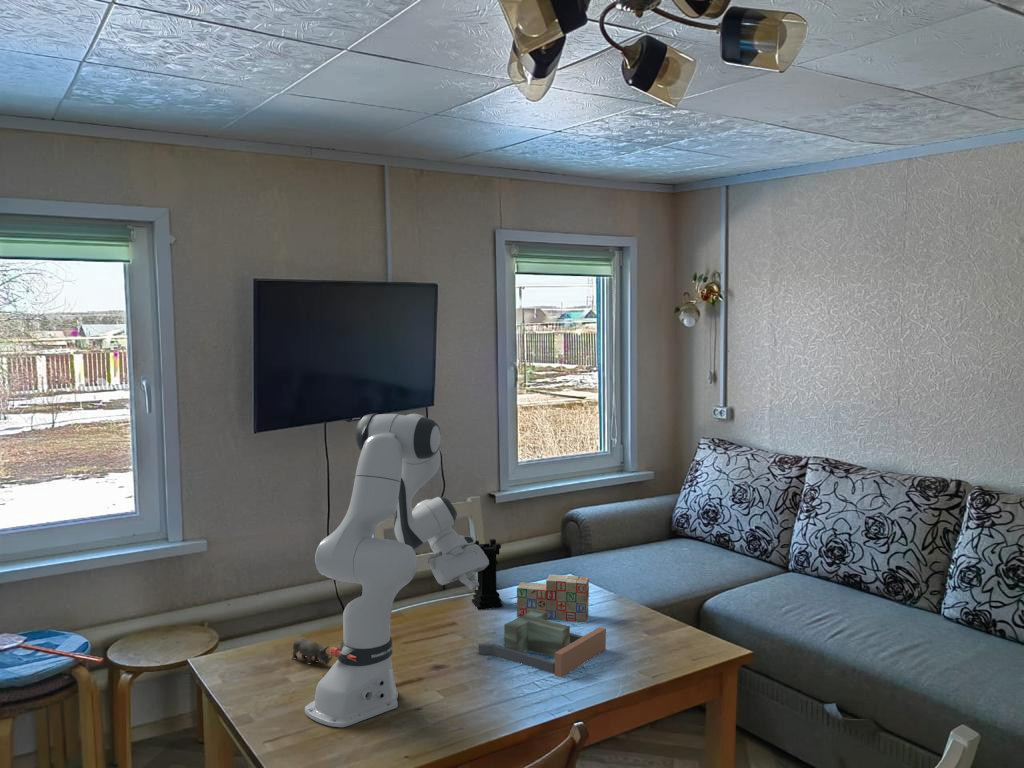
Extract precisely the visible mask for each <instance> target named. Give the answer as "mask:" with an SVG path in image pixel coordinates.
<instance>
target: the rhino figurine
mask: <svg viewBox="0 0 1024 768" xmlns="http://www.w3.org/2000/svg"><path fill="white" fill-rule="evenodd" d="M292 645H293V646H292V647H293V648H292V649H293V650H292V657H291V659H292V660H294V659H293V658H297V659H298V655H297V653H300V657H301V656H302V657H305V656H307V661H306V664H307V663H311V662H312V658H313V657H314V661H319V660H320V662H321V661H322V662H323V663H324V664H326V665H328V664H329V663H330V661H331V660H332V659H333V656H331V655H330V657H329V654H328V653H327V650H328V649H329V648H330V647H329V645H327V646H326V647H324V646H322V645H321V644H320V643H318V642H317V641H311V640H309V639H307V638H306V637H299V636H298V637H297V638H296V640H295V641H294V643H293V644H292ZM302 657H301V658H302ZM314 661H313V662H314Z"/></svg>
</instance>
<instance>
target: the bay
mask: <svg viewBox="0 0 1024 768" xmlns="http://www.w3.org/2000/svg"><path fill="white" fill-rule="evenodd" d="M606 645H607V629H606V628H605V627H601V626H600V627H599V626H598V627H597V628H596V629H594V630H592V631H590V632H589V633H586V634H585V635H580V634H576V633H571V632H570V644H569V645H567V646H566V647H564V648H562V649H560V650H559V651H557V652H555V658H554V661H552V660H549V659H546V658H542V657H540V656H539V657H538V656H536V655H532V654H529V653H525V652H524V653H522V652H519V651H516V650H512V649H509V648H506V647H504V646H501V645H498V644H494V643H481V642H480V643H478V646H477V647H478V653H477V654H478V655H486V654H487V655H488V656H496V657H498V658H501V659H505V660H509V661H511V662H514V663H518V664H521V663H522V665H525V666H528V667H530V666H531V668H534V667H535V668H534V669H537V668H538V669H537V670H540V669H541V670H540V671H543V670H544V672H548V673H551V674H554V676H555V677H558V678H563V677H565V676H566V675H567V674H570V671H571V672H572V670H573V671H574V670H576V669H577V668H579V667H581V666H582V665H584V664H585V663H584V662H586V661H587V660H589V659H590V660H592V659H593V657H594V656H595V657H597V656H598V655H599V653H600V654H601V652H602V651H603V652H604V650H605V651H606V650H607V646H606ZM603 652H602V653H603ZM596 655H597V656H596ZM595 657H594V658H595ZM591 658H592V659H591ZM590 660H589V661H590ZM587 662H588V661H587ZM587 662H586V663H587ZM583 663H584V664H583ZM581 664H582V665H581ZM580 665H581V666H580ZM578 666H579V667H578ZM575 668H576V669H575Z"/></svg>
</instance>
